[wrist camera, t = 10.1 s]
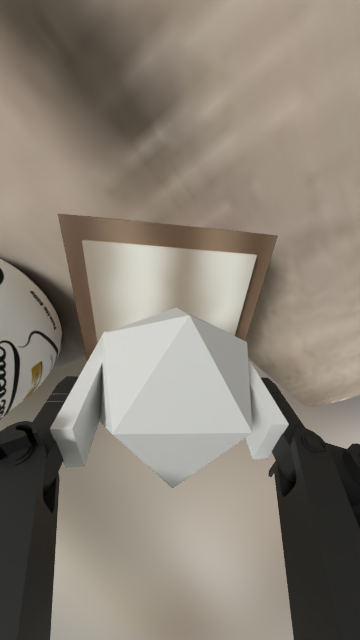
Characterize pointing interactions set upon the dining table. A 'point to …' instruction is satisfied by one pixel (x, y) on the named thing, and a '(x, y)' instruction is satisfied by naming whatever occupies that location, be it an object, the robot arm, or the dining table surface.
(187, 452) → the die
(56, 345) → the milk container
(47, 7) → the dining table surface
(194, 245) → the plinth
